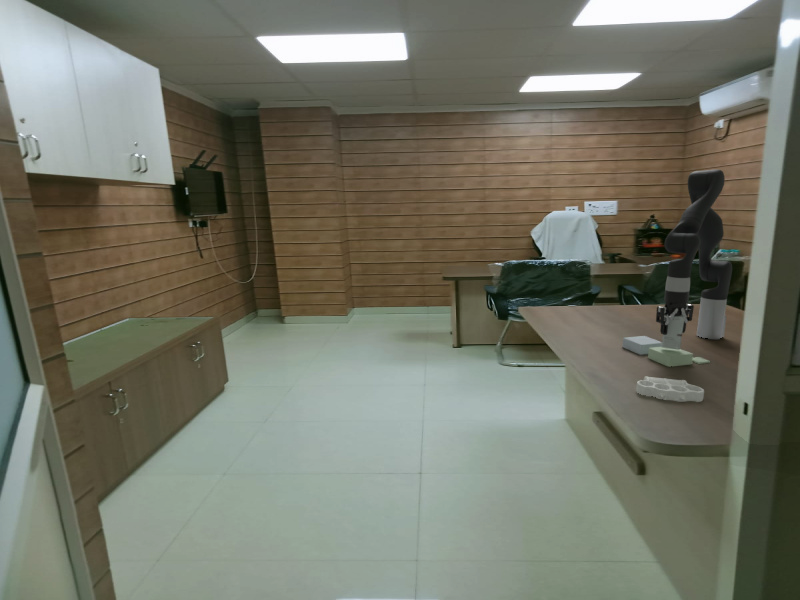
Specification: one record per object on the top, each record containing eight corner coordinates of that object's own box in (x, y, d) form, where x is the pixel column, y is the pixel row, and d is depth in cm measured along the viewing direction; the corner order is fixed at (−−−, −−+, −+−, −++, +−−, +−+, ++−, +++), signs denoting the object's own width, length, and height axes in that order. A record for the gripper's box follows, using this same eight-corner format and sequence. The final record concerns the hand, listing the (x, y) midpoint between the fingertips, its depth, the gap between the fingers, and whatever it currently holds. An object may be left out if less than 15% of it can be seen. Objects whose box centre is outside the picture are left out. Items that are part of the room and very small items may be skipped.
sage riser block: (670, 355, 177) (671, 345, 176) (691, 364, 167) (693, 353, 167) (647, 358, 175) (648, 347, 174) (668, 366, 165) (669, 356, 164)
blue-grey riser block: (643, 345, 190) (644, 335, 189) (662, 352, 181) (663, 342, 180) (622, 347, 188) (623, 337, 187) (640, 354, 178) (641, 344, 178)
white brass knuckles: (695, 388, 147) (707, 408, 133) (632, 382, 153) (638, 400, 139) (696, 378, 146) (709, 397, 133) (633, 372, 152) (639, 389, 139)
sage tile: (698, 358, 173) (698, 356, 173) (710, 362, 169) (710, 361, 168) (687, 359, 172) (687, 358, 172) (698, 364, 167) (698, 362, 167)
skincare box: (661, 347, 170) (664, 315, 167) (661, 344, 173) (664, 313, 171) (680, 350, 167) (684, 317, 164) (680, 346, 170) (684, 314, 168)
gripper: (685, 286, 171) (680, 329, 174) (652, 288, 167) (648, 332, 171) (702, 289, 163) (697, 334, 167) (668, 292, 160) (663, 337, 164)
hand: (672, 333), depth 169 cm, fingers closed on skincare box, 7 cm apart
